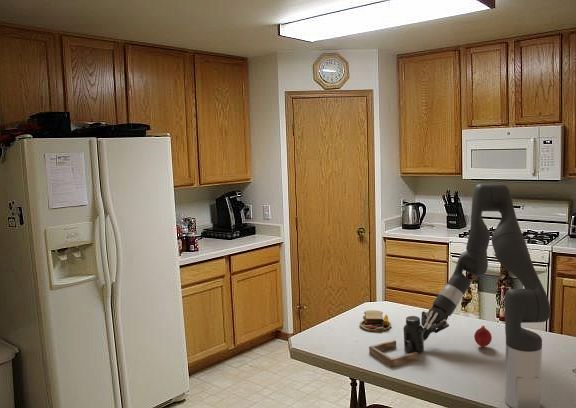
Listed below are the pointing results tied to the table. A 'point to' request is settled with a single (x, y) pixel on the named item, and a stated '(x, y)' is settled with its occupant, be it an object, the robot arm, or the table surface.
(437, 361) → the table surface
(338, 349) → the table surface
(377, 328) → the toy sandwich meal
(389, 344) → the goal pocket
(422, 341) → the supplement bottle
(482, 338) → the onion
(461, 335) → the table surface
